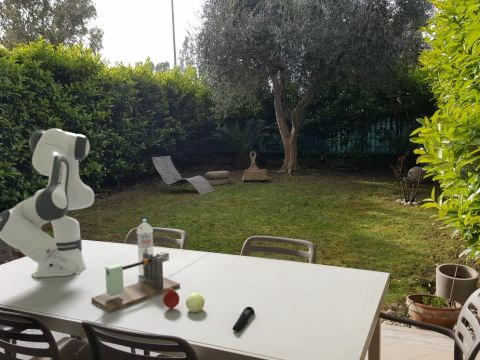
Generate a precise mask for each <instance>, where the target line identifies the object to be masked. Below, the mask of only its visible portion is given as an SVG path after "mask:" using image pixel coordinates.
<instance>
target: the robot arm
mask: <svg viewBox="0 0 480 360" xmlns="http://www.w3.org/2000/svg"><path fill="white" fill-rule="evenodd" d="M29 149H30V151H31V152H32V153H33V154H32V158H31V164H32V166H33V168H34V169H35V170H36V172H38V173H40V174H41V175H42V176H46V177H48V182H47V186H46V187H45V188H42V189H39V190H37V191H36V192H35V193H34V195H33V196H31V197H28V198H26V199H24V200H22V201H20V202H18V203H17V204H16V205H15V206H14V207H12V208H10V209H5V210H3V211H2V212H0V239H1V240H2V241H3V242H5V243H6V244H7V245H9V246H10V247H12V248H13V249H14V248H15V249H17V250H19V251H20V252H21V253H22V254H23V255H24V256H26V257H27V258H29V259H31V260H32V261H33V262H35V263H37V267H35V268H34V269H33V270H32V272H31V273H32V274H31V276H32V277H33V278H47V277H50V278H51V277H66V276H67V277H68V276H71V275H73V274H76V275H78V276H80V275H81V274H82V273H83V271H84V270H85V269H86V264H85V260H84V256H83V253H82V251H83V242H82V238H81V229H80V223H79V221H78V220H77V219H75V218H73V217H70V216H67V213H68V211H74V210H82V209H85V208H88V207H91V206H92V205H93V204H94V202H95V193H94V190H93V189H92V188H91V187H90V186H88V185H86V184H85V183H84V182H83V181H82V180H81V178H80V173H79V172H80V171H79V170H80V169H79V164H80V163H79V160H80V161H81V160H85V158H87V156H88V155H89V152H90V141H89V139H88V137H87V136H86V135H83V134H80V133H77V134H76V133H73V132H68V131H64V130H62V129H59V128H49V129H47V130H45V129H37V130H35V131H34V132H32V134H31V136H30V138H29ZM48 223H50V224H51V225H52V231H53V237H52V236H51V235H50V234H49V233H47V232H45V231H44V230H42V226H43V225H45V224H48Z"/></svg>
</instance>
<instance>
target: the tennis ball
mask: <svg viewBox="0 0 480 360" xmlns="http://www.w3.org/2000/svg"><path fill="white" fill-rule="evenodd" d="M185 305H186V308H187V310H188V311H190V312H191V313H194V312H197V313H199V312H200V311H201V310H202V311H203V308H204V306H205V298H204V297H203V296H202V295H201V294H200V293H198V292H193V293H191V294H189V295H188V296H187V298H186V300H185Z"/></svg>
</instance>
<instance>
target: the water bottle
mask: <svg viewBox="0 0 480 360" xmlns="http://www.w3.org/2000/svg"><path fill="white" fill-rule="evenodd" d="M141 221H142V223H141V224H140V225H138V227H137V228H136V234H137V237H136V238H137V260H138V261H137V263H138V262H141V261H142V260H143V253H144V252H148V254H150V253H151V254H153V255H155V253H154V251H155V250H154V237H153V236H154V235H153V233H154V229H153V227H152V225H151V224H149V223H147V221H148V220H147V219H145V218H144V219H142V220H141ZM138 275H139V276H140V277H142V278H144V271H143V264H142V265H139V266H138Z"/></svg>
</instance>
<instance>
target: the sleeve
mask: <svg viewBox="0 0 480 360" xmlns="http://www.w3.org/2000/svg"><path fill="white" fill-rule="evenodd" d="M123 267H124V266H123V265H122V264H119V263H115V264H110V265H107V266H105V267H104V268H105V285H106V286H105V288H106V293H107V294H108V295H110V296H114V295H117V294H120V293H123V292H124V287H125V286H124V270H123ZM108 271H109V273H108Z"/></svg>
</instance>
